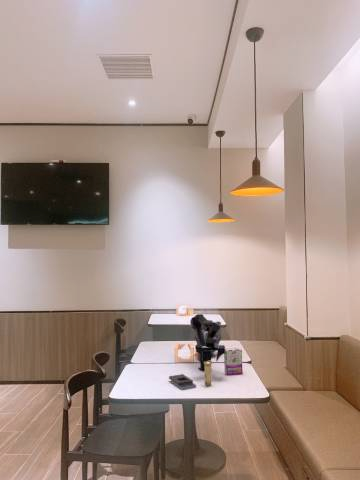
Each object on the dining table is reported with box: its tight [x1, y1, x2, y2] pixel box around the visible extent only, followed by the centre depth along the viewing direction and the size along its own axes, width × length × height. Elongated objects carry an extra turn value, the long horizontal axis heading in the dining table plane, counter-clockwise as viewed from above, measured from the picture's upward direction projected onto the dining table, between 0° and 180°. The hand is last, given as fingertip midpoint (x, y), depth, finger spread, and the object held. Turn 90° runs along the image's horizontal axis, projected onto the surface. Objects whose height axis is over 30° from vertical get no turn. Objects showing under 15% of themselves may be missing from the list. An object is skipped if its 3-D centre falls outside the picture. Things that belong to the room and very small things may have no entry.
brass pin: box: [204, 360, 213, 388], centre depth 216 cm, size 5×5×14 cm
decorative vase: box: [194, 319, 222, 359], centre depth 285 cm, size 21×19×28 cm
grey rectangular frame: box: [168, 374, 197, 391], centre depth 219 cm, size 18×10×3 cm, turn 25°
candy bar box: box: [223, 347, 243, 377], centre depth 238 cm, size 11×5×16 cm, turn 101°
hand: (209, 360), depth 223 cm, fingers open, 9 cm apart
